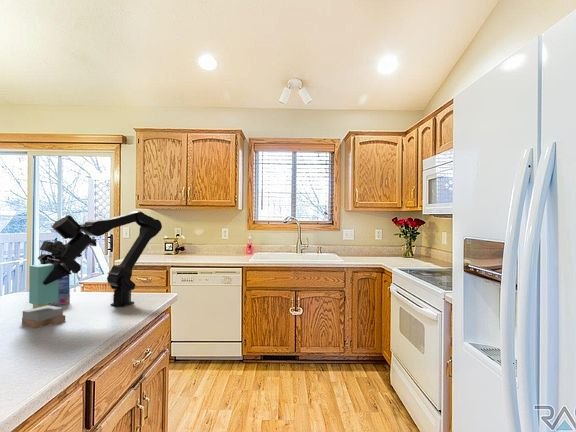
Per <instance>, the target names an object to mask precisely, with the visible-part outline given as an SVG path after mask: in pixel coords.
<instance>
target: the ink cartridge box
mask: <svg viewBox="0 0 576 432" xmlns="http://www.w3.org/2000/svg"><path fill="white" fill-rule="evenodd" d="M70 283H71V281H70V274H69V275H67V276H65V277H62V278H60V279H58V302H53V303H50V304H51V305H52V306H53V305H54V306H58V305H59V306H61V305H65V304H66V305H67V304H70V302H71V296H70V295H71V293H70V292H71V291H70V286H71V284H70Z"/></svg>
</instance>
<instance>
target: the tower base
mask: <svg viewBox="0 0 576 432" xmlns="http://www.w3.org/2000/svg"><path fill="white" fill-rule="evenodd" d="M64 322H66V315H65V314H63V315H62V316H58V317H54V318H50V319H46V320H43V321H39V322H37V321H32V320H27V319H22V318H21V324H22V325H24V326H27V327H30V328H32V329H38V328H43V327H47V326H51V325H55V323H56V324H60V323H64Z"/></svg>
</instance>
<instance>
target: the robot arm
mask: <svg viewBox="0 0 576 432" xmlns="http://www.w3.org/2000/svg"><path fill="white" fill-rule="evenodd" d="M132 223H136V224H137V226H138V227H139V232H138V233H139V235H138V236H137V238H136V239H135V241H134V242H133V244H132V246H131V247H130V249H129V250H128V252H127V253H126V255H125V256H124V258H123V260H122V261H121V263H120V264H119V265H112V266H111V269H110V271H108V272H107V278H106V281H107V283H108V285H109V286H110V289H112V290H113V295H112V296H113V299H112V301H113V303H110V306H111V307H112V306H114V307H127V306H129V305H132V304H134V303H135V301H133V300H132V291H133V290H135V288H136V283H134V281H132V280H131V278H132V277H133V269H134V267H135V265H136V264H137V262H138V260H139V258H140V257H141V255H142V254H143V252H144V250H145V249H146V247H147V245H148V244H149V242H150V241H151V240H152V239H153V238H155V237H157V235H158V234H159V233H160V232H161V230H162V228H163V225H162V222H161V220H159V219H156V218H154V217H151V216H150V215H147V214H145V213H144V212H142V211H140V210H139V211H137V210H136V211H135V210H134V211H131V212H128V213H125V214H122V215H117V216H115V217H111V218H106V219H105V218H104V219H95V220H87V221H85V222H84V224H83V223H81V224H80V223H78V221H76V220H75V219H74V217H73V216H72V215H69V214H67V215H66V216H64V217H62V218H60V219H58V220H56V221H55V222H54V223H53V224H52V226H51V228H52V229H53V230H54V231H55V232H56V233H57V234H59V235H60V236H61V237H62V238H63V239H65V240H68V239H69V241H68V242H67V243H66V244H65V243H64V242H62V241H60V240H55V241H54V242H53V241H49V240H43V242H42V244H41V245H40V246H39V247H40V248H39V250H40V251H45V252H46V253H42V254H40V255H39V256H38V257H37V260H39V262H40V264H49V263H50V264H54V269H53V270H52V272H51V273H50V274H49V275H48V277H47V278H46V279H45V280H44V282H43V284H44V285H47V284H49V283H51V282H53V281H56V280H58V279H60V278H62V277H65V276H67V275H69V276H70V275H72V274H78V273H79V272H80V271H81V269H82V265H81V264H80V263H78V262H77V261H76V259H77V258H81V257H82V256H83V255H82V253H83V252H84V251H85V250H86V249H87V248H88V247H89V246H90V247H97V246H98V245H97V239H96V238H91V237H92V236H93V237H101V236H103V235H104V234H108V233H109V232H110V231H112V230H113V229H116V228H119V227H122V226H125V225H129V224H132ZM47 252H48V253H47ZM49 253H50V254H49Z"/></svg>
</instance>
